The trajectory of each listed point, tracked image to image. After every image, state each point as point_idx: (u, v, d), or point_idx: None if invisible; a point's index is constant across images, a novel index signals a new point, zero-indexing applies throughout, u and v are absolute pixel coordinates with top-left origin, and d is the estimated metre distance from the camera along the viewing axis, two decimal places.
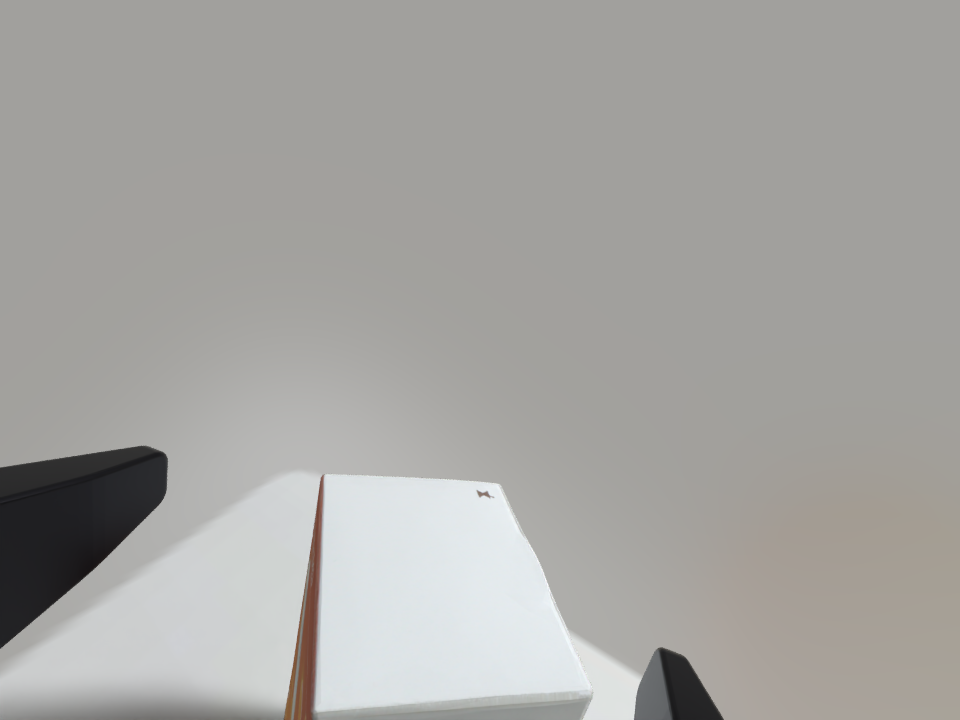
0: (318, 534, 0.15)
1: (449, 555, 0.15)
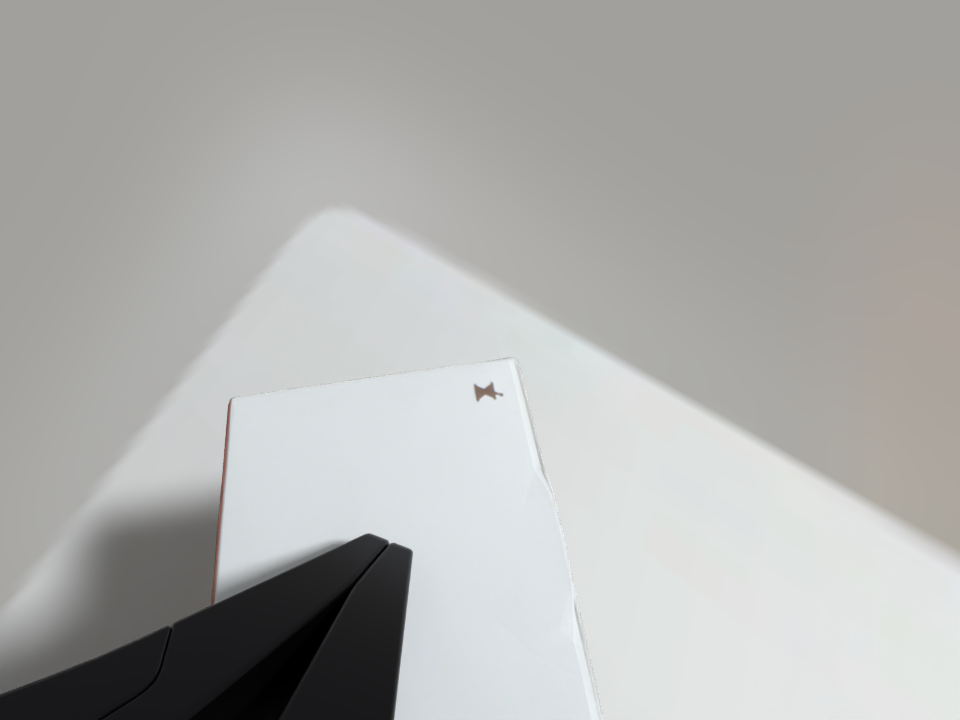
0: (218, 531, 0.10)
1: None
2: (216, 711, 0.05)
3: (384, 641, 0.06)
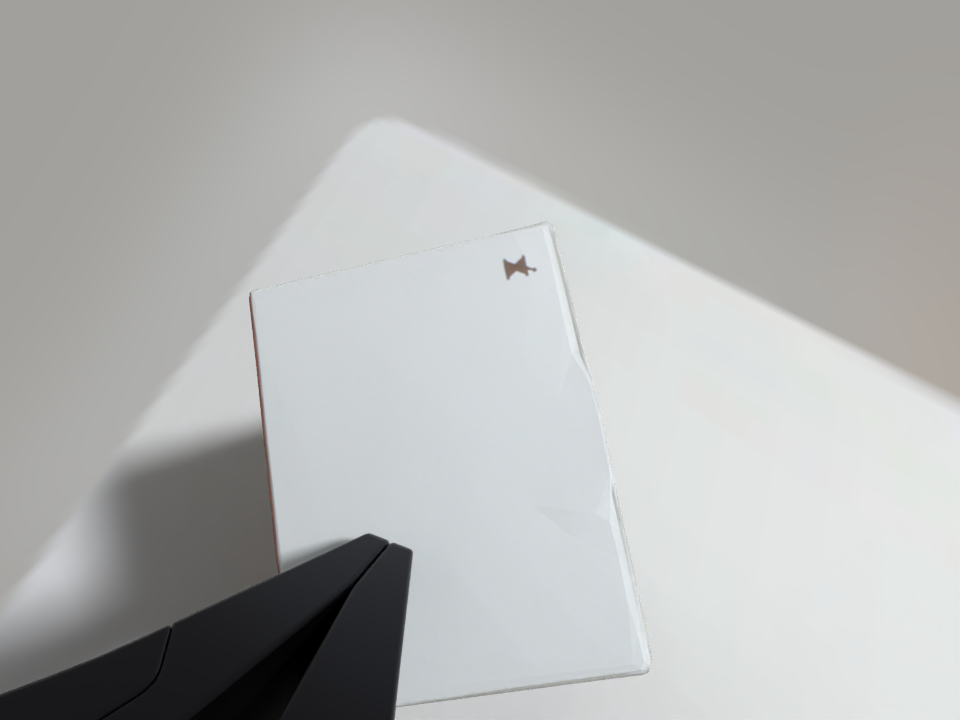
0: (263, 428, 0.10)
1: (448, 444, 0.09)
2: (216, 711, 0.05)
3: (384, 641, 0.06)
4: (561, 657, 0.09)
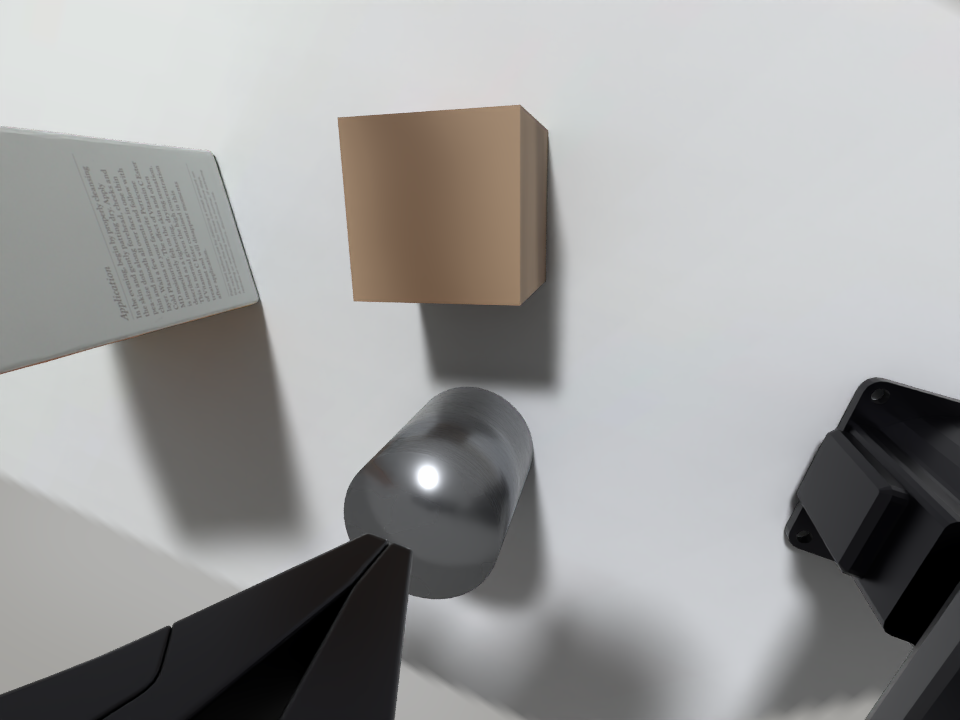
0: None
1: None
2: (216, 711, 0.05)
3: (384, 641, 0.06)
4: None
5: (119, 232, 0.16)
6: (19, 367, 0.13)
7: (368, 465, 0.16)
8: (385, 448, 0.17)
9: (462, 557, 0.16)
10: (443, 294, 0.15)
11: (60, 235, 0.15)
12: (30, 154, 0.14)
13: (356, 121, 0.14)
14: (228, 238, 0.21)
